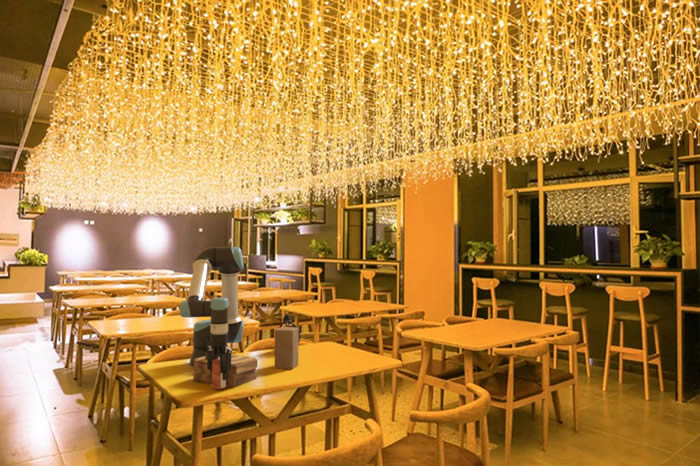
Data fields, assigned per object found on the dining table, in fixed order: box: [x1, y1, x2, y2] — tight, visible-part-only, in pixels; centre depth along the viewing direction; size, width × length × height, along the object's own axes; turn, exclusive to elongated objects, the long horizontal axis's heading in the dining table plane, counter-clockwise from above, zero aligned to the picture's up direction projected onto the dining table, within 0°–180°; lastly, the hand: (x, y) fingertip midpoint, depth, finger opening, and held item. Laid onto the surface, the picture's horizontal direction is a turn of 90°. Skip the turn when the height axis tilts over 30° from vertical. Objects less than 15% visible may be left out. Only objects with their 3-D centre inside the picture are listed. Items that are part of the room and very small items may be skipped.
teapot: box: [274, 313, 302, 344], centre depth 281 cm, size 12×25×23 cm, turn 34°
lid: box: [194, 352, 258, 375], centre depth 215 cm, size 26×15×8 cm, turn 64°
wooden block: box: [274, 326, 299, 370], centre depth 241 cm, size 10×10×20 cm
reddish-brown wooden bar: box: [211, 358, 225, 390], centre depth 200 cm, size 4×4×12 cm
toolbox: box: [192, 361, 257, 389], centre depth 215 cm, size 24×16×9 cm, turn 64°
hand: (218, 386), depth 200 cm, fingers closed on reddish-brown wooden bar, 4 cm apart
